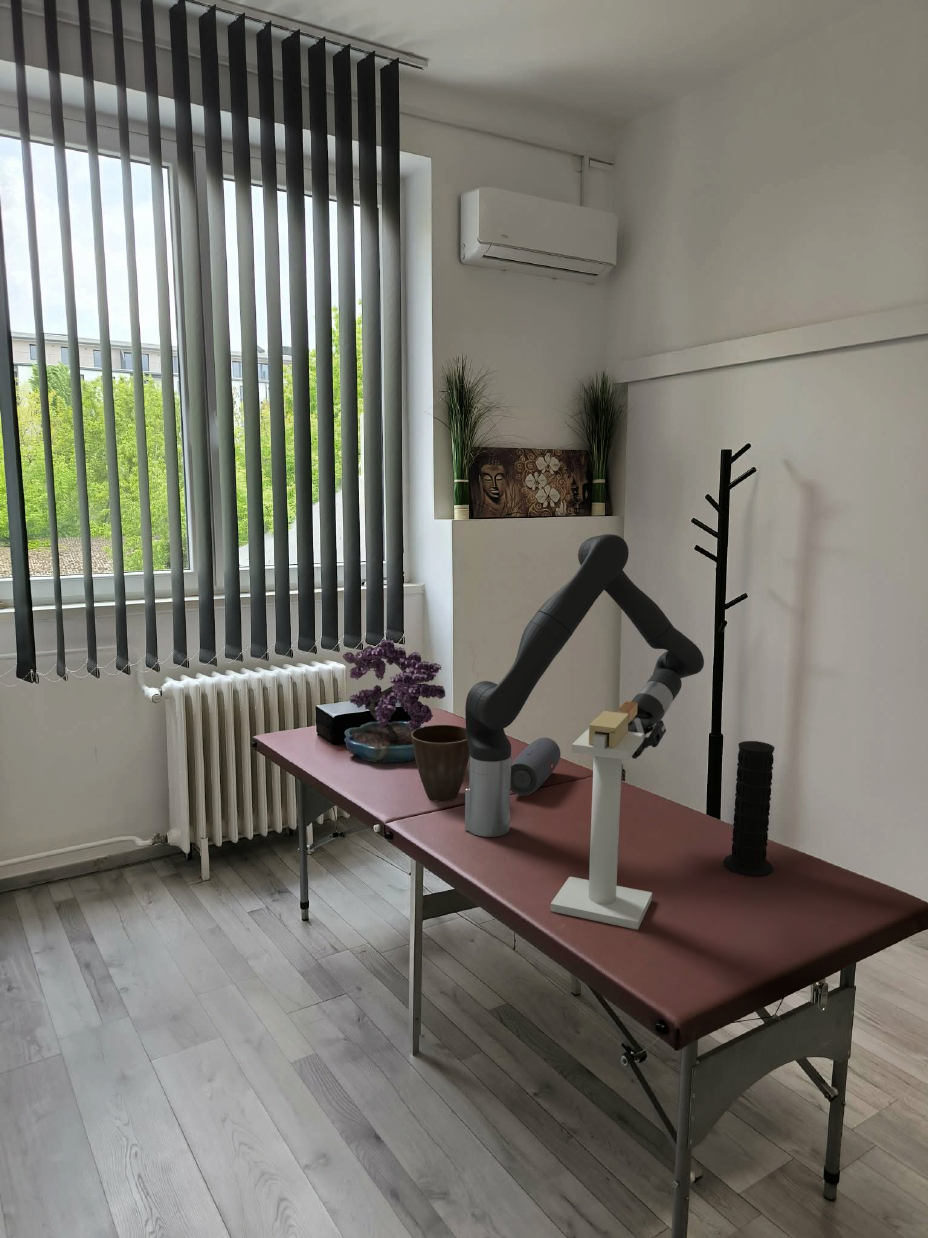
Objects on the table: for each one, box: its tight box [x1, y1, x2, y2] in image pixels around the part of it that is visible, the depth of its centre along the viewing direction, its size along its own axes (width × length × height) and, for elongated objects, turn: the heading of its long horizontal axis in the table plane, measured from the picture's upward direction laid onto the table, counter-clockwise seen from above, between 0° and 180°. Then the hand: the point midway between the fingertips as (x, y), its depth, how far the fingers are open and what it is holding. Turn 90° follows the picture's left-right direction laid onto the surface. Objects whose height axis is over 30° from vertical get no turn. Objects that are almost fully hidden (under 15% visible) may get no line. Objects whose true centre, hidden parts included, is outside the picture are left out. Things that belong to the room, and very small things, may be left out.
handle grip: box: [722, 740, 776, 878], centre depth 180 cm, size 10×26×10 cm
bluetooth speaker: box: [510, 737, 562, 796], centre depth 227 cm, size 23×9×10 cm, turn 160°
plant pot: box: [411, 724, 469, 802], centre depth 218 cm, size 15×15×16 cm
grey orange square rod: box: [593, 701, 638, 749], centre depth 164 cm, size 2×25×2 cm, turn 157°
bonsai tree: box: [342, 638, 446, 764], centre depth 247 cm, size 35×27×32 cm
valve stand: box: [550, 710, 653, 931], centre depth 162 cm, size 16×12×36 cm
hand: (615, 753), depth 187 cm, fingers open, 8 cm apart
